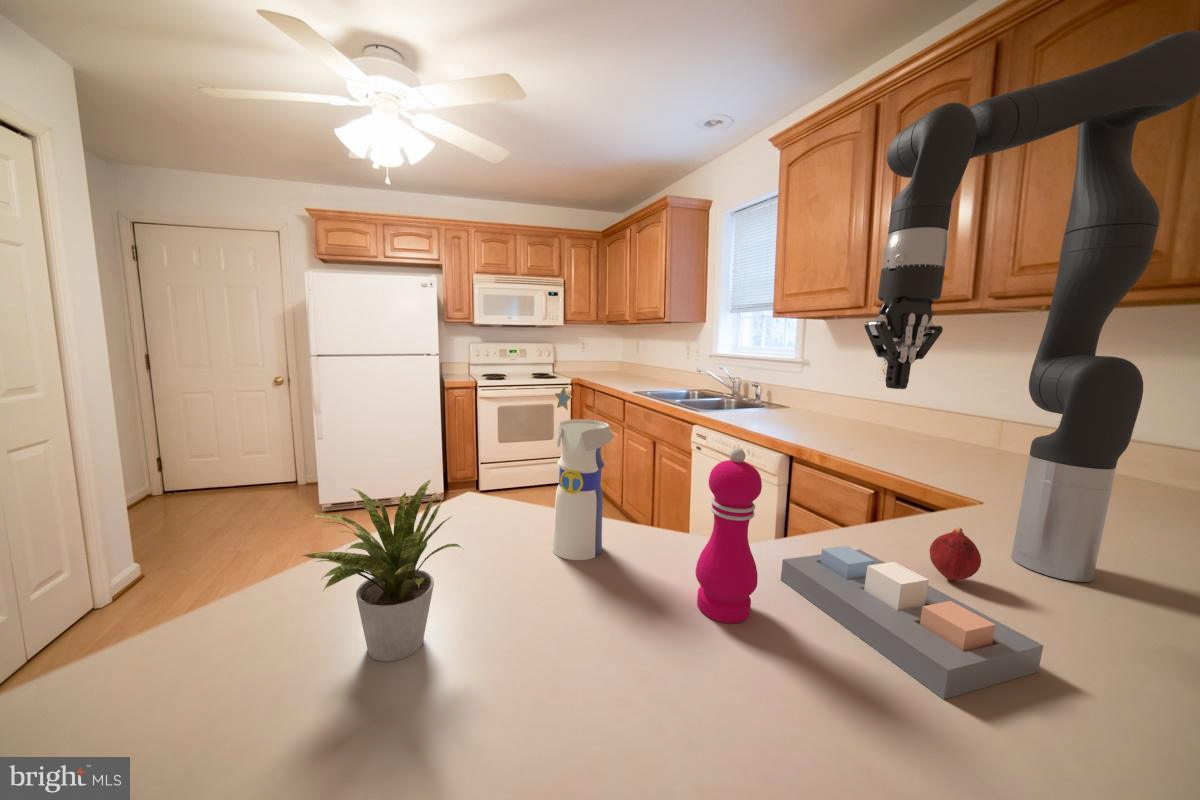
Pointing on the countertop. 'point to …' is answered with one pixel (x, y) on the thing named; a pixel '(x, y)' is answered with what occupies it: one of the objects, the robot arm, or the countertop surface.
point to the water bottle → (579, 487)
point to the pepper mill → (729, 542)
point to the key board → (913, 632)
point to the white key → (896, 586)
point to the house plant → (390, 576)
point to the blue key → (845, 562)
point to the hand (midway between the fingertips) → (895, 388)
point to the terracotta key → (957, 625)
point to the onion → (955, 555)
